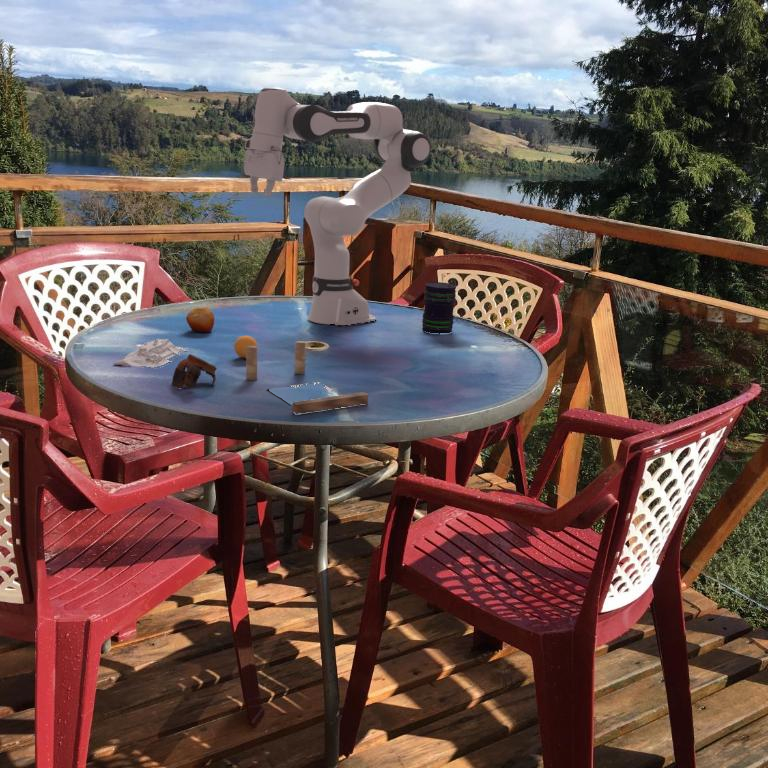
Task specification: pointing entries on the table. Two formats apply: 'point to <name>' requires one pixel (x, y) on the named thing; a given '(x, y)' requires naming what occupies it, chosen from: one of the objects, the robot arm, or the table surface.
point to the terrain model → (151, 354)
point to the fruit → (200, 319)
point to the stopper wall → (330, 402)
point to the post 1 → (251, 362)
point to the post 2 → (300, 357)
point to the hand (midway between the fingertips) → (260, 194)
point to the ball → (243, 345)
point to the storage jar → (438, 307)
